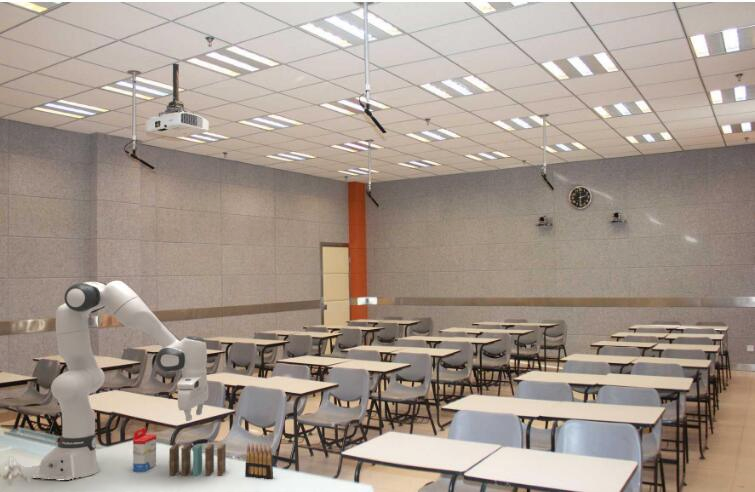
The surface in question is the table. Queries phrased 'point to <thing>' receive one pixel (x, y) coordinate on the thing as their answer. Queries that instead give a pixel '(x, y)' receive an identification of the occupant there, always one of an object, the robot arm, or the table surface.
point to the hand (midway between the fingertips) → (194, 417)
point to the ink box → (144, 450)
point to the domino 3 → (197, 460)
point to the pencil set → (259, 462)
